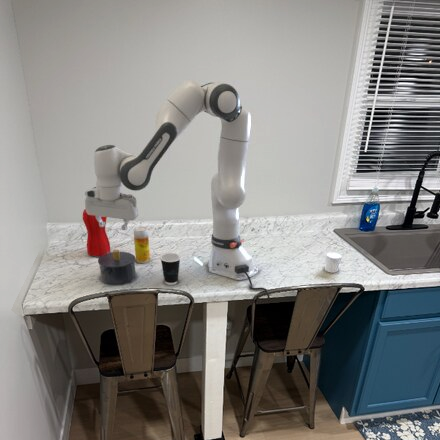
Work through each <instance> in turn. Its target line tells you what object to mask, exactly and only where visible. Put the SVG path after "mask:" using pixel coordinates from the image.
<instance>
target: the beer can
mask: <svg viewBox="0 0 440 440" xmlns="http://www.w3.org/2000/svg"><path fill="white" fill-rule="evenodd" d="M133 240H134V256H135V258H136V260H135V262H137V263H139V264H147V263H148V262H149V261H150V259H151V257H150V255H151V253H150V241H149V240H150V238H149V230H148V228H147V227H146V226H136V227H135V228H134V230H133Z"/></svg>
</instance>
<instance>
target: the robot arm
mask: <svg viewBox="0 0 440 440" xmlns="http://www.w3.org/2000/svg"><path fill="white" fill-rule="evenodd" d="M202 112H204V113H206V114H208V115H210V116H212V117H215V118H219V120H220V123H221V130H220V136H219V144H218V151H217V173H215V174H214V175H213V177H212V178H211V182H210V191H211V193H210V194H211V210H212V234H211V239H210V240H211V241H210V243H211V251H210V256H209V257H210V258H209V261H208V265H207V267H208V272H209V273H212V274H216V275H218V276H221V277H225V278H229V279H232V280H236V281H243V280H244V281H245V280H247V279H248V282H249V289H250V290H253V291H257V290H263V291H265V292H266V297H267V300H268V301H271V297H270V292H269V293H267V291H266V290H268V289H267V288H265V287H253V283H252V280H251V278H252V277H254V276H255V275H257V274H258V273H259V267H257V266H256V265H254V258H253V256H252V255H251V254H250V253H249V252H248V251H247V250H246V248H245V247H244V246H243V244H242V243H244V239H241V236H240V235H239V234H240V221H241V219H240V212H239V211H240V210H239V208H240V207H241V206H242V205H243V204H244V202H245V200H246V175H247V174H246V172H247V169H246V167H247V166H246V165H247V157H248V151H249V143H250V138H251V128H252V127H251V125H252V123H251V121H252V120H251V113H250V111H249V110H248V109H246V108H245V107H243V106H242V104H241V99H240V95H239V93H238V91H237V89H236V88H235V87H234V86H232V85H231V84H228V83H225V82H220V81H216V82H207V83H205V84H203V85H200V83H198V82H197V81H195V80H193V79H192V80H191V79H187V80H184V81H183V82H182V83H181V84H179V86H177V88H175V89H174V90H173V91H172V92H171V94H169V96H168V97H167V98H166V100H165V101H164V102H163V104H162V105H161V106H160V108H159V110H158V112H157V114H156V116H155V127H154V131H153V134H152V136H151V138H150V139H149V140H148V142H147V143H146V144H145V146H144V147H143V149H142V150H141V151H140V153H139V154H138V155H137V154H134V153H130V152H127V151H124V150H122V149H121V148H119V147H117V146H116V145H114V144H107V145H102V146H100V147H98V148H96V150H95V151H94V154H93V167H94V174H95V175H96V186H93V187H91V188H89V189H86V190H85V191H84V196H85V199H84V207H85V209H86V212H87V214H88V215H94V216H96V219H97V221H98V222H99V226H100V227H105V228H106V226H105V222H103V221H102V219H101V217H107V218H111V219H118V220H123V222H124V223H123V224H122V225H121V230H122V231H127V230H128V224H129V223H130V221H135V220H136V219H137V218H138V216H139V211H138V207H137V205H138V204H137V198H136V197H135V196H134V195H133V194H127V193H123V187H122V186H124V187H125V188H126V189H128V190H130V191H135V192H136V191H141V190H143V189H145V188H146V187H148V185H149V184H150V181H151V177H152V175H153V174H152V173H153V171H154V169H155V167H156V165H158V163H159V162H160V160H161V159H162V157H164V155H165V154H166V152H167V151H168V149H169V148H170V146H171V145H172V144H173V143H174V142H175V141H176V140H177V138H178V137H179V136H180V135H181V134H183V132H184V131H185V130H186V129H187V128H188V127H189V126H190V124H191V123H192V122H193V120H195V118H196V117H197V116H198V115H199V114H200V113H202ZM85 209H84V210H85ZM194 261H196V262H197V263H198V264H199V265H200V266H203V262H201V261H200V259H198V258H197V257H194Z"/></svg>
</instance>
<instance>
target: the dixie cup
mask: <svg viewBox="0 0 440 440" xmlns="http://www.w3.org/2000/svg"><path fill="white" fill-rule="evenodd" d="M159 259H160V261H161V266H162V267H161V269H162V274H163V279H164V280H163V281H164V282H165V284H166V285H168V286H173V285H176V284H177V283H178V280H179V273H180V263H181V261H180V260H181V255H180V254H178V253H174V252H168V253H167V252H166V253H164V254H161V255H160V258H159Z"/></svg>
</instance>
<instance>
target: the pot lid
mask: <svg viewBox="0 0 440 440" xmlns="http://www.w3.org/2000/svg"><path fill="white" fill-rule="evenodd" d="M98 257H99V258H98V259H97V263H98V265H99V266H100V265H101V266H103V267H107V268H122V267H126V266H129V265H131V264H133V263H134V262H135V263H136V255H135V254H133V253H131V252H127V251H120V249H113V250H112V252H109V253H107V254H104V255H102V256H101V257H100V256H98Z"/></svg>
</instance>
